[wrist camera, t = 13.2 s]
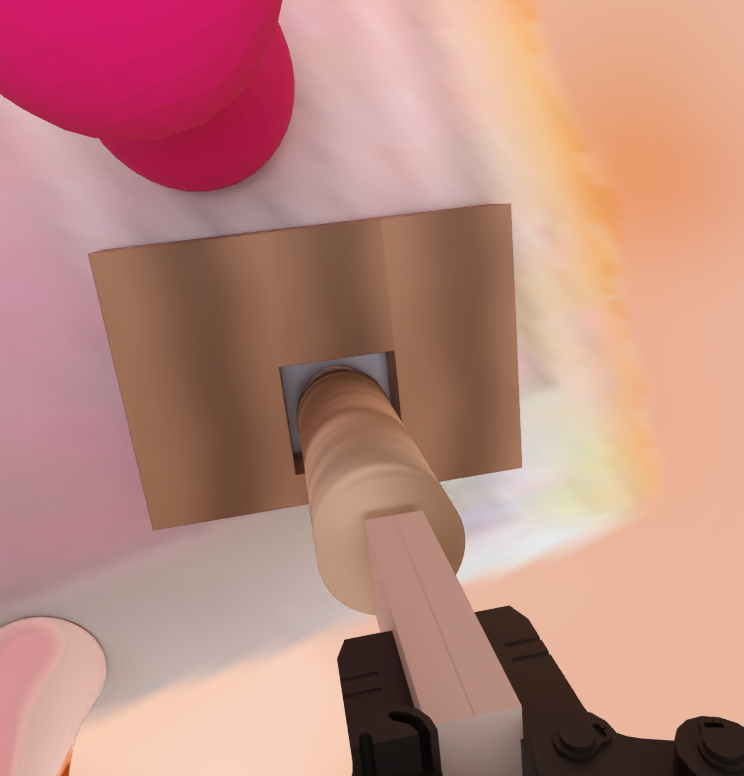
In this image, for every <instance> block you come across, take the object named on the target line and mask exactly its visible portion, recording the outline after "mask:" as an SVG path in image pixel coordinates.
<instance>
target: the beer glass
mask: <svg viewBox="0 0 744 776" xmlns="http://www.w3.org/2000/svg"><path fill="white" fill-rule="evenodd" d="M106 673H107V664H106V659H105V655H104V652H103V650H102V648H101V647H100V645H99V643H98V642H97V641H96V640H95V638H94V637H93V636H92V635H91V634H89V633H88V632H87V631H86V630H84V629H83V628H81V627H79V626H78V625H76V624H73V623H71V622H68V621H65V620H62V619H57V618H51V617H31V618H25V619H20V620H17V621H14V622H11V623H9V624H7V625H5V626H3V627H2V628H0V776H69V769H70V763H71V757H72V751H73V746H74V743H75V739H76V736H77V733H78V731H79V728H80V726H81V724H82V722H83V721H84V719H85V717H86V716H87V714H88V712H89V711H90V709H91V708H92V706H93V705H94V703H95V701H96V700H97V698H98V696H99V695H100V693H101V691H102V688H103V686H104V683H105V680H106Z"/></svg>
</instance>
